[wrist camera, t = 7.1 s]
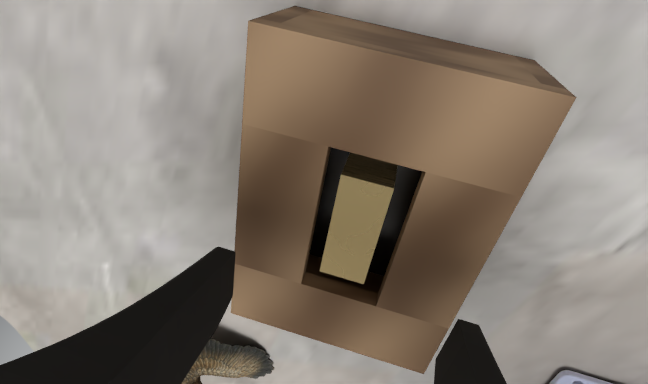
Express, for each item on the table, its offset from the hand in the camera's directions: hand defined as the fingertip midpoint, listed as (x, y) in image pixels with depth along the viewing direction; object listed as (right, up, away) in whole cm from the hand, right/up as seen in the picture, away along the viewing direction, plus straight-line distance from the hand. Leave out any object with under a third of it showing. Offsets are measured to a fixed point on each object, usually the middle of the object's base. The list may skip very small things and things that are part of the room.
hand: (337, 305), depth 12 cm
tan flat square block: (+2, +4, +7) cm, 9 cm away
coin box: (+2, +4, +7) cm, 9 cm away
